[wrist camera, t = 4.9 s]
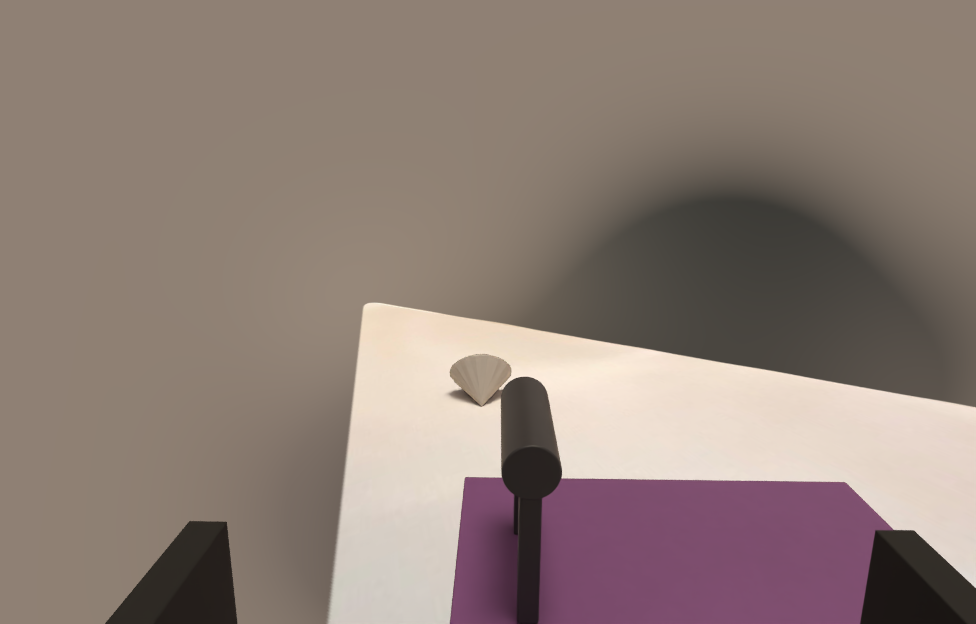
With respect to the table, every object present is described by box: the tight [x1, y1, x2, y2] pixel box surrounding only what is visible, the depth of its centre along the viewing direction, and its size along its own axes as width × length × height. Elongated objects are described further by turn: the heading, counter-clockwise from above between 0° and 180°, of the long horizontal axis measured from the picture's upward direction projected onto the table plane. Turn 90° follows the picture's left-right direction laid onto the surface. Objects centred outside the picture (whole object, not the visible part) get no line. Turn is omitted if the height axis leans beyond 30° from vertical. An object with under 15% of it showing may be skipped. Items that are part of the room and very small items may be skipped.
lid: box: [450, 377, 893, 624], centre depth 23 cm, size 17×14×7 cm
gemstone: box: [450, 354, 511, 406], centre depth 65 cm, size 6×6×5 cm
